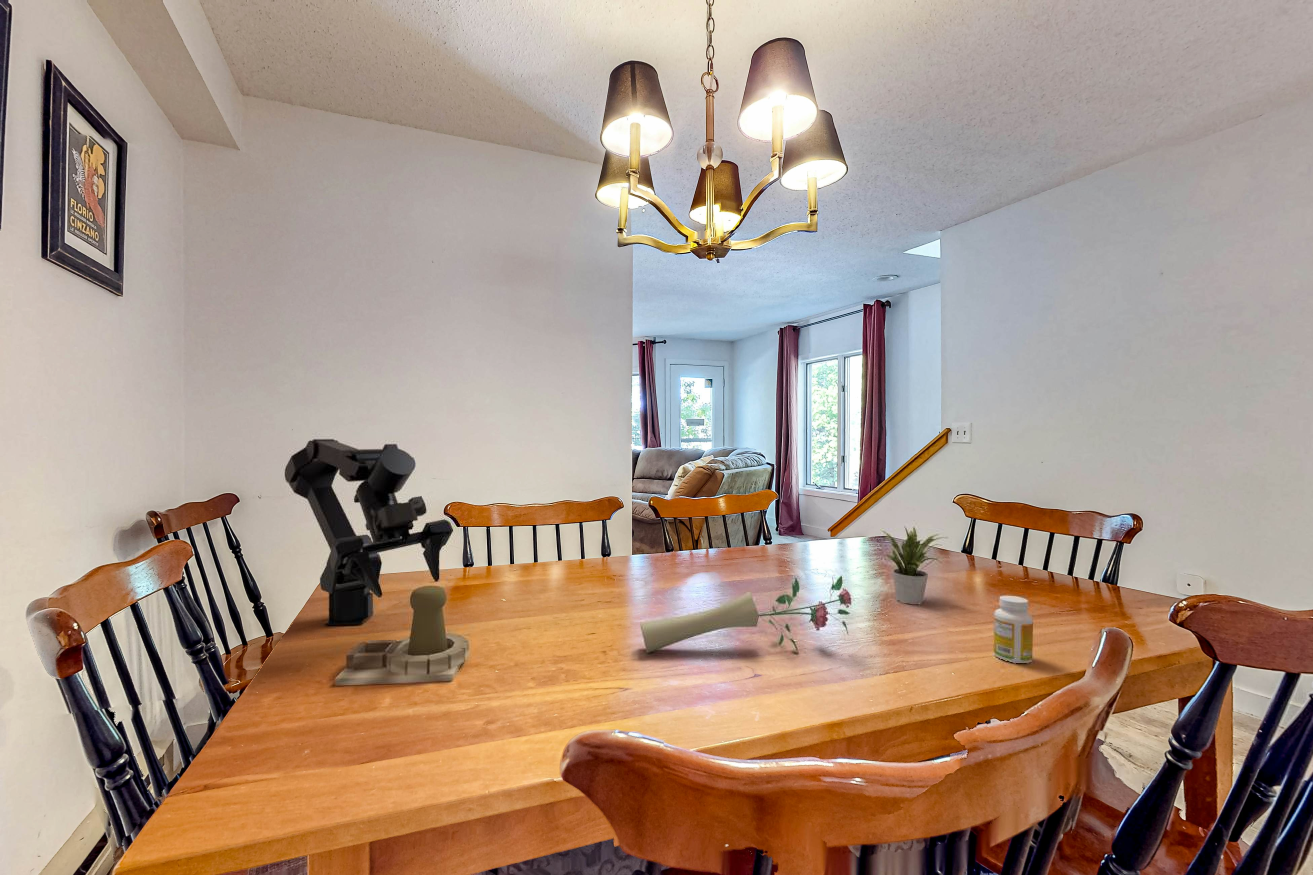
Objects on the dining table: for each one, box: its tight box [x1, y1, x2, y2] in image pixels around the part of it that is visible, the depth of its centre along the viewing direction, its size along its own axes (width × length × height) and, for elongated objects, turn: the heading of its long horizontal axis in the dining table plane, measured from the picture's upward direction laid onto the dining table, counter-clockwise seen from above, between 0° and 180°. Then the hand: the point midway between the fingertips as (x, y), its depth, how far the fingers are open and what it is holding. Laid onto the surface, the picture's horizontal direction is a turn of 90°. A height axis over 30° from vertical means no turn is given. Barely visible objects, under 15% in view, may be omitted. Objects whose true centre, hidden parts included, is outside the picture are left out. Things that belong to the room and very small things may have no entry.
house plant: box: [880, 525, 948, 605], centre depth 124 cm, size 14×14×16 cm
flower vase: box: [640, 575, 852, 654], centre depth 97 cm, size 12×12×35 cm
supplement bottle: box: [993, 595, 1034, 664], centre depth 95 cm, size 5×5×10 cm
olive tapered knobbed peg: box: [407, 585, 448, 656], centre depth 89 cm, size 6×6×11 cm
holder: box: [334, 632, 470, 687], centre depth 89 cm, size 17×12×3 cm
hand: (410, 588), depth 95 cm, fingers open, 9 cm apart
